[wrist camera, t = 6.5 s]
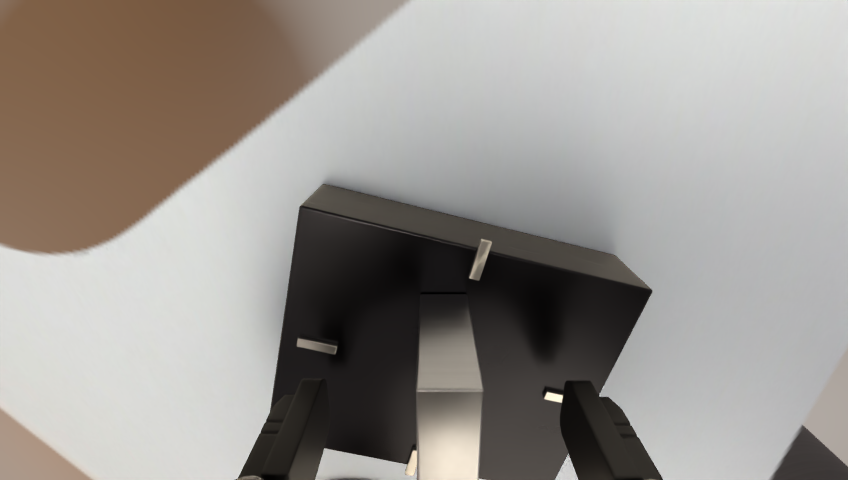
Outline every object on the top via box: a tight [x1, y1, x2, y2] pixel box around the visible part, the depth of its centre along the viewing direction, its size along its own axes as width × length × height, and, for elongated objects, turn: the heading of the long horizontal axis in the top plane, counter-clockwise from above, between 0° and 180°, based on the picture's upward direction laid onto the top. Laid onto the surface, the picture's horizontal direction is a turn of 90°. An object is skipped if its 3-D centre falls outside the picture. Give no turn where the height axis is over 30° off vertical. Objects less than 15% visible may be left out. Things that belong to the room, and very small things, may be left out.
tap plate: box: [270, 184, 652, 480], centre depth 16 cm, size 12×11×3 cm
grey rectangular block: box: [416, 294, 484, 480], centre depth 13 cm, size 6×2×5 cm, turn 0°
